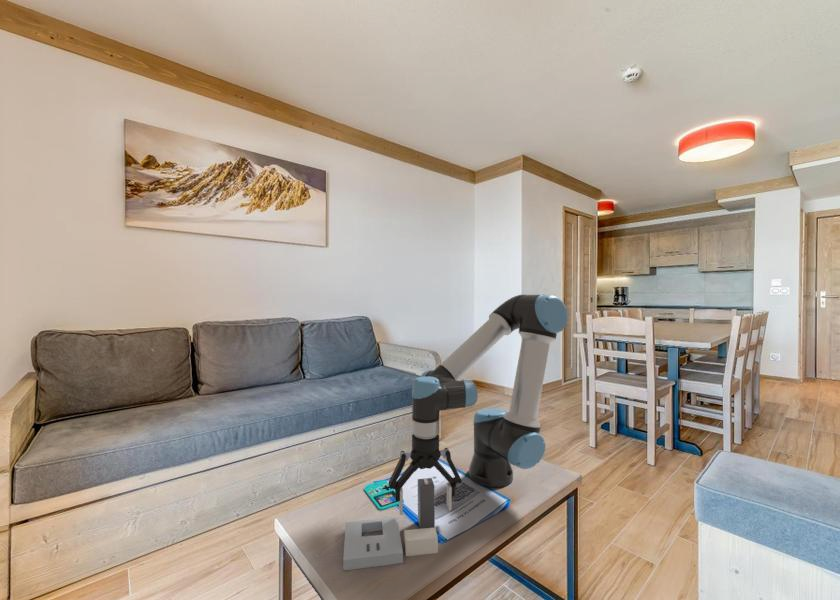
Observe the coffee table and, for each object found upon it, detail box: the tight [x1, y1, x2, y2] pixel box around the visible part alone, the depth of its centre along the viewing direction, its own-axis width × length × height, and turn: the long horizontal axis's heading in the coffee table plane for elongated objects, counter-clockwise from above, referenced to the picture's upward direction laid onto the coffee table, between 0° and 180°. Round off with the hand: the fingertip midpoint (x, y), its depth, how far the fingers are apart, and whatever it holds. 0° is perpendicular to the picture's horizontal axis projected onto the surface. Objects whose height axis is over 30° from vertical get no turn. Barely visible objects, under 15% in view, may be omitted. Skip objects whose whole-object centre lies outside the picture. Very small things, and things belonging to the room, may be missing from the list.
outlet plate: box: [342, 516, 404, 571], centre depth 92 cm, size 14×14×3 cm
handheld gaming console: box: [363, 480, 405, 511], centre depth 115 cm, size 8×1×15 cm
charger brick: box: [417, 477, 436, 529], centre depth 100 cm, size 4×4×12 cm
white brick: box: [403, 527, 439, 557], centre depth 91 cm, size 8×4×4 cm, turn 98°
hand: (425, 509), depth 100 cm, fingers open, 13 cm apart
